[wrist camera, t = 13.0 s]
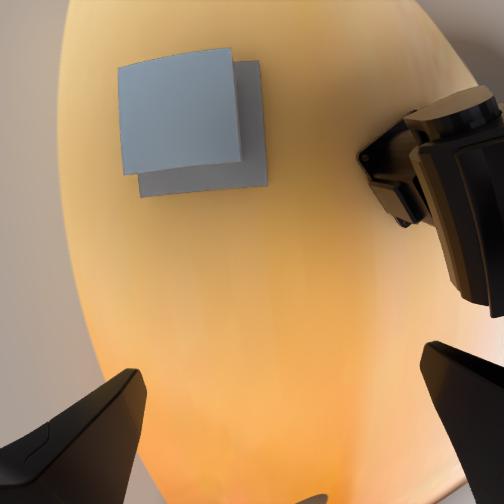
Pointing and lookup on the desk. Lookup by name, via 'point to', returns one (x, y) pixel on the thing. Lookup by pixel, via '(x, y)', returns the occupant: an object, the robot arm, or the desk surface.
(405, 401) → the desk surface
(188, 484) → the desk surface
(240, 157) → the pale blue cube
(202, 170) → the base plate
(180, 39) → the desk surface
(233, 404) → the desk surface
